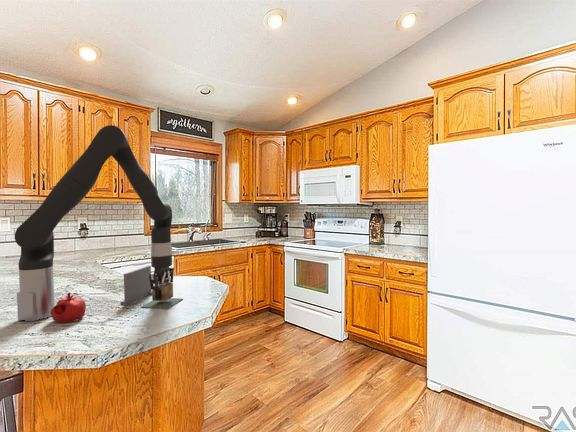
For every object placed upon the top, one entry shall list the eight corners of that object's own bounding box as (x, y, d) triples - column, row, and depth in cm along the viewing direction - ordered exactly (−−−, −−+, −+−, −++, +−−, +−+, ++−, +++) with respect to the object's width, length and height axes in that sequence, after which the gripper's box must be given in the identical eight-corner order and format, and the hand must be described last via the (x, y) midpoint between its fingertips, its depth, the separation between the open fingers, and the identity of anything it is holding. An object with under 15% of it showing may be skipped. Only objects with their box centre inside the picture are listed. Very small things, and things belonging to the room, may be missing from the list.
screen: (132, 305, 119) (131, 274, 118) (120, 304, 119) (119, 273, 119) (155, 293, 135) (154, 265, 134) (144, 292, 135) (144, 265, 135)
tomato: (80, 312, 111) (80, 287, 111) (91, 318, 105) (90, 291, 105) (46, 320, 104) (46, 292, 104) (55, 327, 97) (55, 297, 97)
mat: (168, 308, 114) (168, 307, 114) (141, 307, 116) (141, 306, 115) (182, 299, 125) (182, 298, 125) (157, 298, 126) (157, 297, 126)
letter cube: (165, 300, 117) (165, 286, 117) (152, 300, 118) (151, 285, 118) (173, 296, 122) (172, 282, 122) (160, 296, 123) (159, 282, 123)
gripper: (160, 257, 112) (161, 303, 113) (179, 251, 126) (180, 292, 127) (141, 257, 113) (142, 302, 114) (162, 251, 127) (163, 291, 128)
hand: (162, 296), depth 120 cm, fingers closed on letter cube, 5 cm apart
